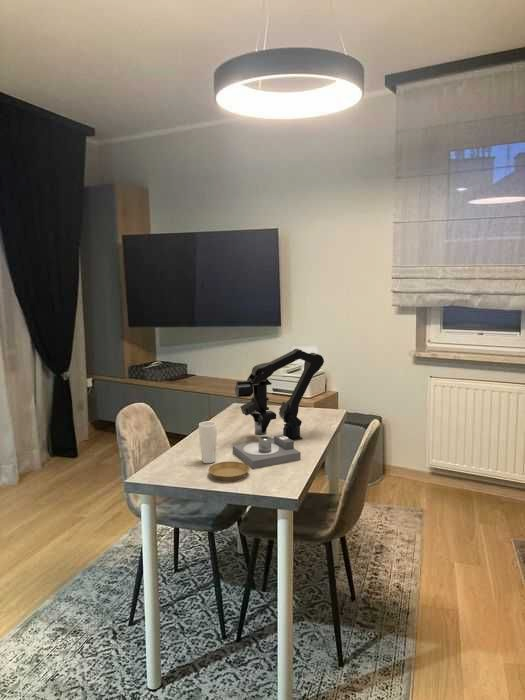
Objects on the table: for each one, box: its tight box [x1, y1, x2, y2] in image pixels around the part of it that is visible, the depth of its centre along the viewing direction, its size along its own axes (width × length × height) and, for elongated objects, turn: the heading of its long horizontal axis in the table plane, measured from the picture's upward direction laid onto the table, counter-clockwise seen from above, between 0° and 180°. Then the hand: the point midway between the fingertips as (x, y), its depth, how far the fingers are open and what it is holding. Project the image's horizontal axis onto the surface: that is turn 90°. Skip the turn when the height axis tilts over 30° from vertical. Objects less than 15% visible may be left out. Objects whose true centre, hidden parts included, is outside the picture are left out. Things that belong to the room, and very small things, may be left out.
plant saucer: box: [207, 460, 251, 482], centre depth 189 cm, size 15×15×3 cm
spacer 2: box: [257, 435, 272, 453], centre depth 203 cm, size 5×5×5 cm
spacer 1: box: [254, 421, 268, 436], centre depth 225 cm, size 5×5×5 cm
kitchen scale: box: [232, 434, 302, 470], centre depth 207 cm, size 20×20×6 cm
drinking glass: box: [198, 420, 218, 464], centre depth 202 cm, size 7×7×15 cm
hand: (260, 431), depth 225 cm, fingers closed on spacer 1, 5 cm apart
